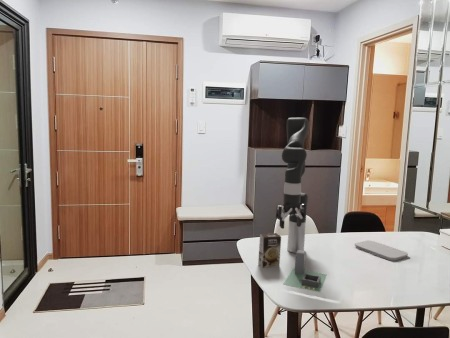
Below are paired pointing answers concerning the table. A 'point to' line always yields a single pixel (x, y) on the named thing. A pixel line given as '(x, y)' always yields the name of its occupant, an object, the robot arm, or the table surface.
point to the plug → (300, 262)
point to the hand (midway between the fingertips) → (290, 227)
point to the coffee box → (269, 250)
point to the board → (306, 280)
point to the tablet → (381, 250)
